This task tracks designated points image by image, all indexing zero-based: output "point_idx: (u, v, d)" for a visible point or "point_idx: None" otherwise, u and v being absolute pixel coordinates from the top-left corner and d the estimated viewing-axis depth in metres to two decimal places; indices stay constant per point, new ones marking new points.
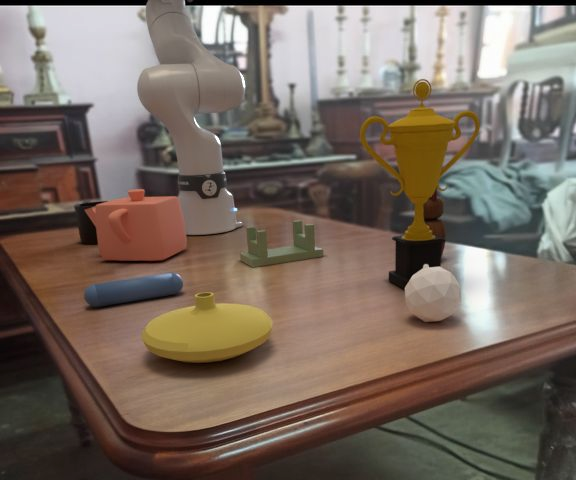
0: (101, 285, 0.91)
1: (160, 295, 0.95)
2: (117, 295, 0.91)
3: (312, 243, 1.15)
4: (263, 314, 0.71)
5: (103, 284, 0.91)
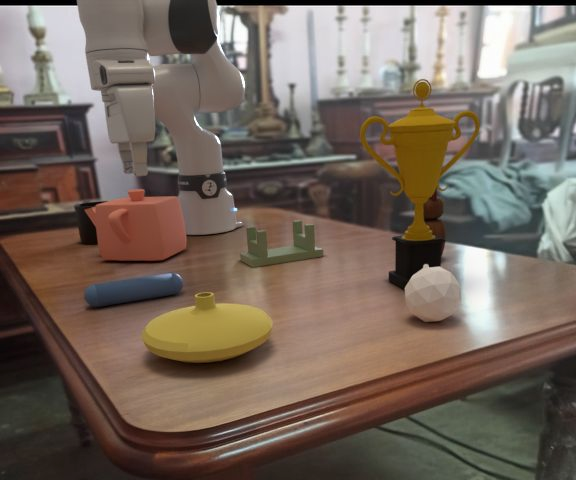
0: (101, 285, 0.91)
1: (160, 295, 0.95)
2: (117, 295, 0.91)
3: (312, 243, 1.15)
4: (263, 314, 0.71)
5: (103, 284, 0.91)
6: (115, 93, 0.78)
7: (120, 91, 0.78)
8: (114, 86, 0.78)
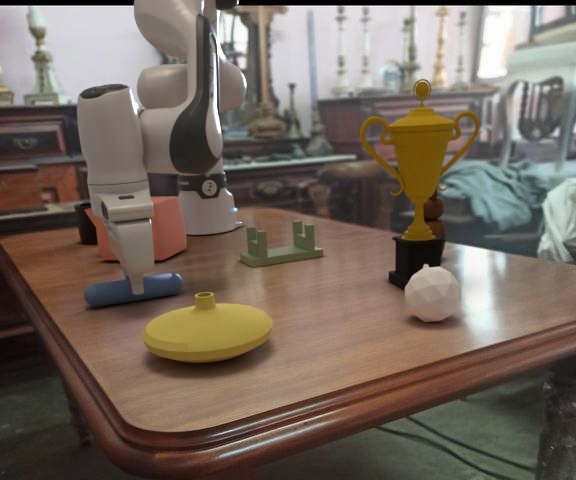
0: (101, 285, 0.91)
1: (160, 295, 0.95)
2: (117, 295, 0.91)
3: (312, 243, 1.15)
4: (263, 314, 0.71)
5: (103, 284, 0.91)
6: (116, 230, 0.82)
7: (121, 230, 0.81)
8: (115, 223, 0.82)
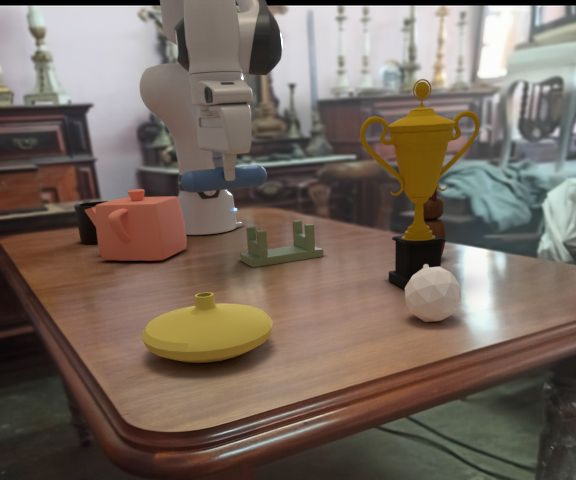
0: (196, 171, 1.00)
1: (247, 185, 1.03)
2: (211, 181, 1.00)
3: (312, 243, 1.15)
4: (263, 314, 0.71)
5: (198, 171, 1.00)
6: (219, 111, 0.90)
7: (224, 110, 0.90)
8: (218, 105, 0.91)
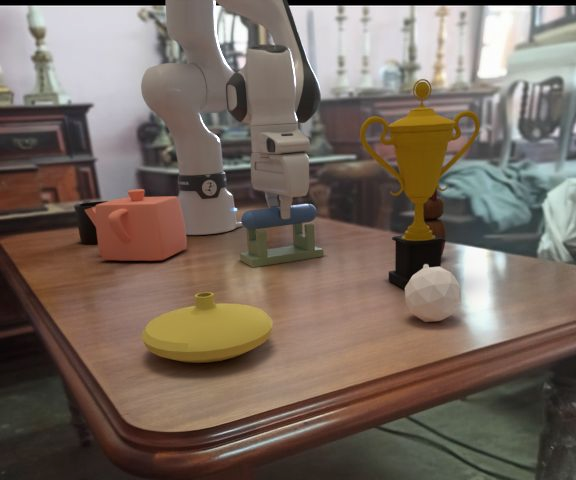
0: (256, 211, 1.11)
1: (299, 221, 1.14)
2: (269, 219, 1.11)
3: (312, 243, 1.15)
4: (263, 314, 0.71)
5: (257, 210, 1.11)
6: (281, 160, 1.01)
7: (286, 159, 1.01)
8: (280, 155, 1.02)
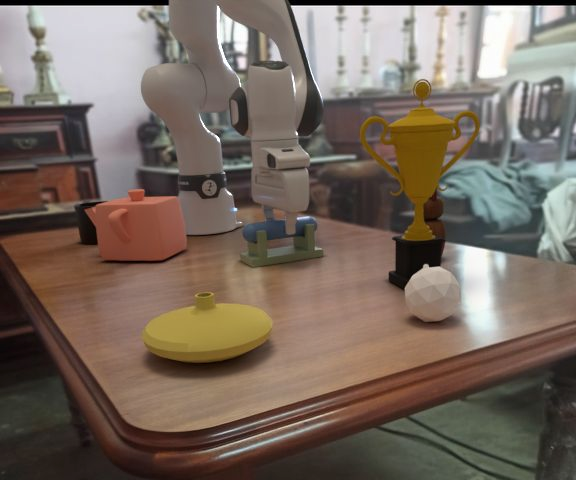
0: (257, 224, 1.11)
1: (300, 234, 1.15)
2: (270, 232, 1.12)
3: (312, 243, 1.15)
4: (263, 314, 0.71)
5: (258, 223, 1.12)
6: (282, 176, 1.02)
7: (286, 175, 1.02)
8: (281, 170, 1.03)
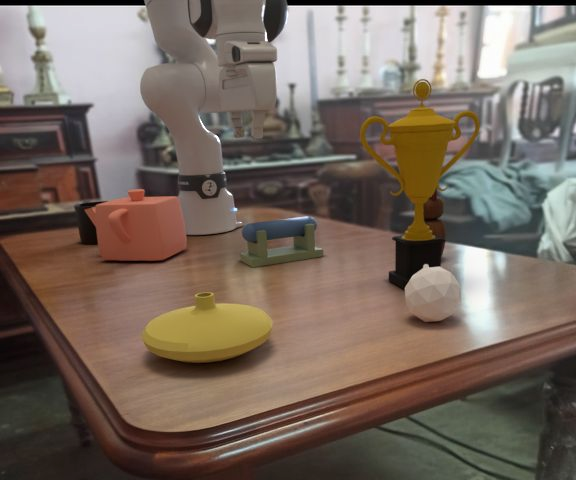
0: (256, 223, 1.12)
1: (300, 233, 1.15)
2: (269, 230, 1.12)
3: (312, 243, 1.15)
4: (263, 314, 0.71)
5: (257, 223, 1.12)
6: (247, 69, 0.96)
7: (252, 68, 0.96)
8: (246, 63, 0.96)
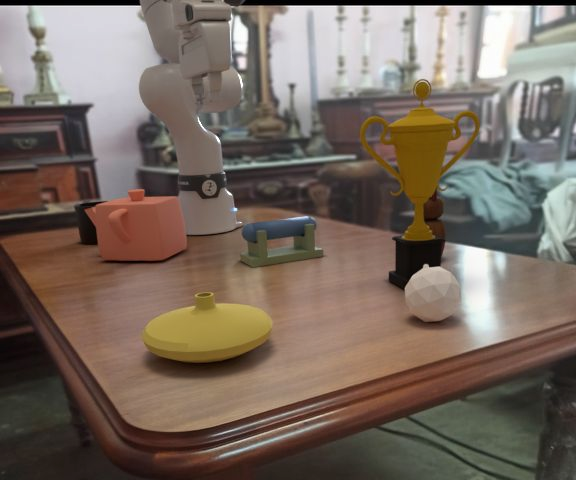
0: (255, 223, 1.12)
1: (300, 233, 1.15)
2: (269, 230, 1.12)
3: (312, 243, 1.15)
4: (263, 314, 0.71)
5: (257, 222, 1.12)
6: (200, 27, 0.93)
7: (204, 25, 0.93)
8: (199, 21, 0.93)
